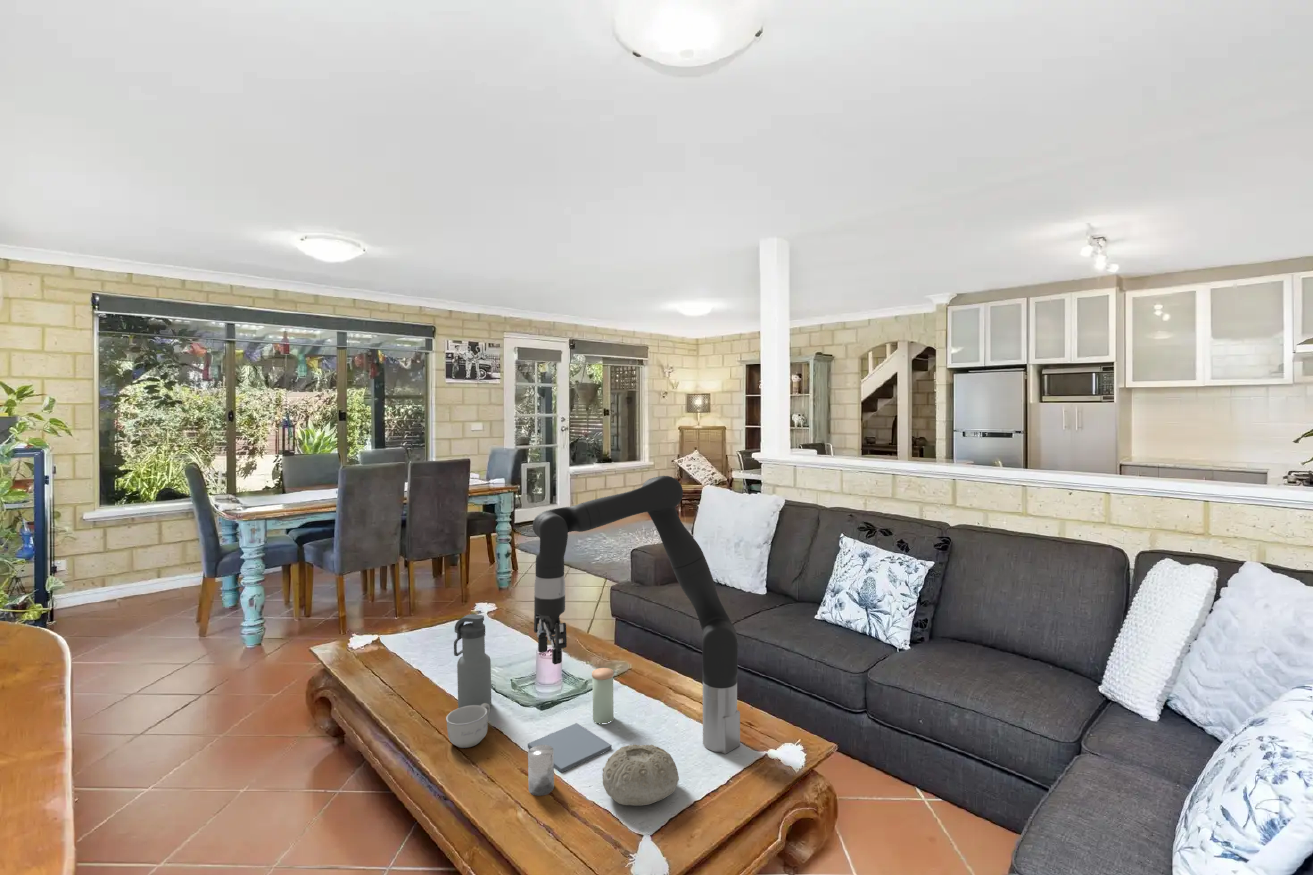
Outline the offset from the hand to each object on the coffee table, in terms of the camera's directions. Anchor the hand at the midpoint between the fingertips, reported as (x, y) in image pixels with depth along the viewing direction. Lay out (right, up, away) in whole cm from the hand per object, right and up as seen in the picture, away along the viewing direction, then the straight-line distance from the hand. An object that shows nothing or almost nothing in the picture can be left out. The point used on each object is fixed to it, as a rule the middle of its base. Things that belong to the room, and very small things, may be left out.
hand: (549, 657), depth 156 cm
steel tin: (-1, -29, -5) cm, 30 cm away
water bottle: (-29, -28, +35) cm, 53 cm away
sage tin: (+11, -28, +27) cm, 40 cm away
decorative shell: (+23, -30, -8) cm, 38 cm away
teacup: (-24, -29, +17) cm, 41 cm away
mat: (+3, -28, +12) cm, 31 cm away
